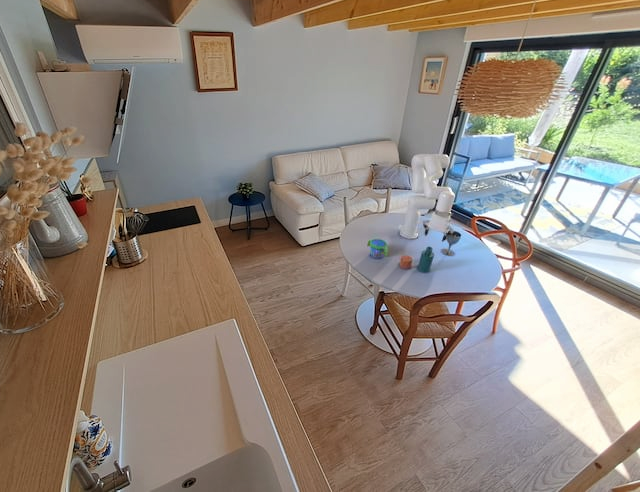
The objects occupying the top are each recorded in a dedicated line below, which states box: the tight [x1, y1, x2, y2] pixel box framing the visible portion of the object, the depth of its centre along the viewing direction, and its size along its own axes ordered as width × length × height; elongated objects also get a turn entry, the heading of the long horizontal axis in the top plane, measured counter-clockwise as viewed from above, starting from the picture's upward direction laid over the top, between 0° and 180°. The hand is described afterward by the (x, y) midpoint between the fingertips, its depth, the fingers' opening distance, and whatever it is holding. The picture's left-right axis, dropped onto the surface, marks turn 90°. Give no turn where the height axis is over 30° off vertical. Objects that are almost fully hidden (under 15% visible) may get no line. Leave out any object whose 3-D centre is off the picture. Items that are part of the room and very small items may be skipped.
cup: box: [399, 254, 413, 270], centre depth 179 cm, size 6×6×6 cm
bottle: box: [416, 246, 435, 274], centre depth 174 cm, size 7×7×16 cm
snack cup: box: [366, 238, 389, 259], centre depth 188 cm, size 16×10×10 cm
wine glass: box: [441, 230, 462, 257], centre depth 189 cm, size 8×8×15 cm
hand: (434, 237), depth 170 cm, fingers open, 9 cm apart
